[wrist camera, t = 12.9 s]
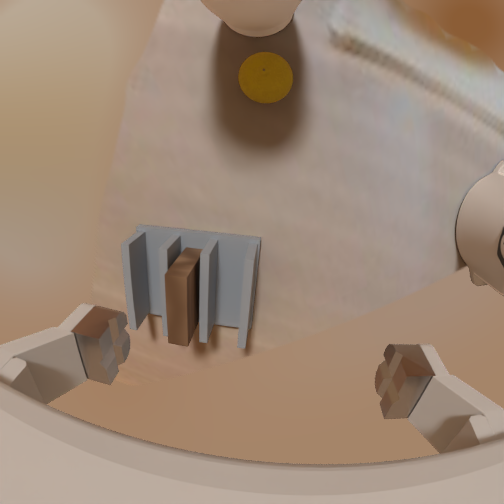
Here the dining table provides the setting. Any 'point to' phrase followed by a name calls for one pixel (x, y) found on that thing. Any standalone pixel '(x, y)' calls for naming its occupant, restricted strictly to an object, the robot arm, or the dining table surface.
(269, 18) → the jar
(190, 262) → the board
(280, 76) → the lemon
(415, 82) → the dining table surface
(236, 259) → the rack
